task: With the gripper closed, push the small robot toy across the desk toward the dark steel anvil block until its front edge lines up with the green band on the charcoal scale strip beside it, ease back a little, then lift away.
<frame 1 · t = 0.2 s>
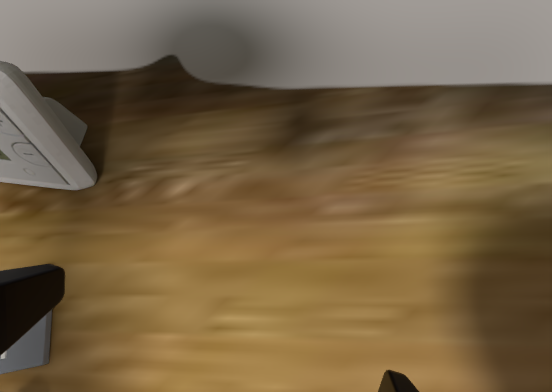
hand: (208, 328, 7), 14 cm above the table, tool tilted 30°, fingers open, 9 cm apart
digital clock: (33, 160, 27), on the table
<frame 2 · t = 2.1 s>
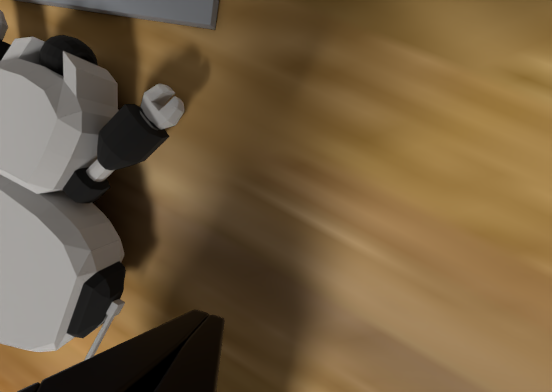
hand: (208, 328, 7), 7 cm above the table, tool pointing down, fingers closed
robot toy: (81, 185, 16), on the table
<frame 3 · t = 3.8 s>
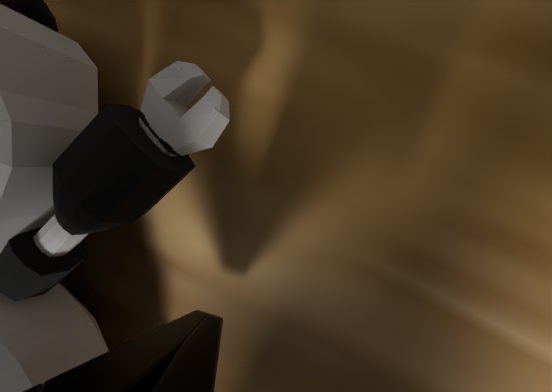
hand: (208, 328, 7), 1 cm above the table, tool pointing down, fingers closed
robot toy: (45, 238, 10), on the table
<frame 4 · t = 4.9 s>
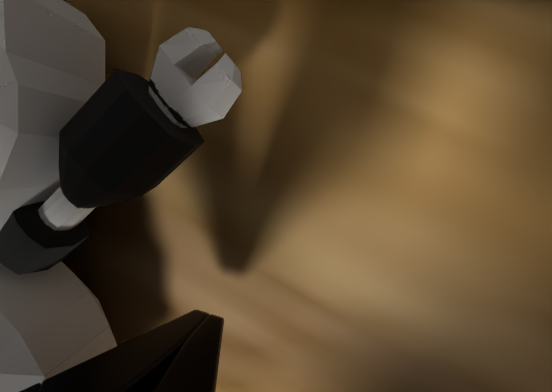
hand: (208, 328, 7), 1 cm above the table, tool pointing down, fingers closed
robot toy: (48, 219, 10), on the table
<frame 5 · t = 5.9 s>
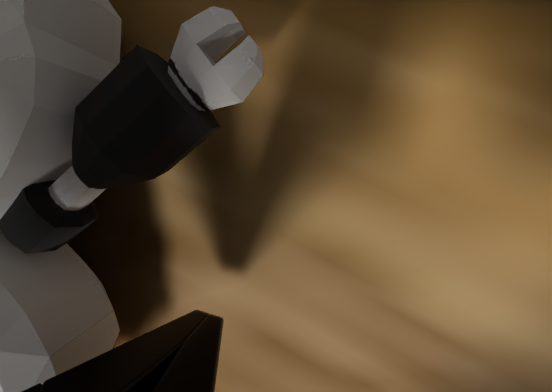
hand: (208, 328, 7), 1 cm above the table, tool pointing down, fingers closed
robot toy: (53, 201, 10), on the table, touching gripper
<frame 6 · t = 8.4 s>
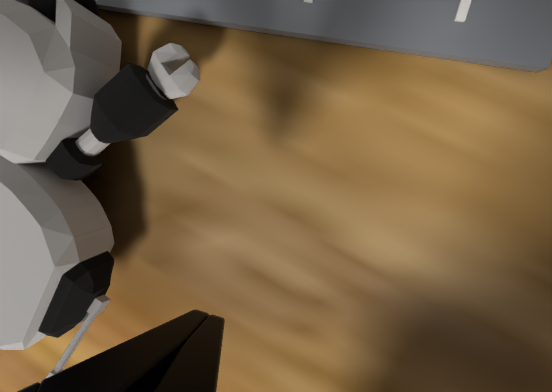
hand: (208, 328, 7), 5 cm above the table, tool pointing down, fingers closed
robot toy: (71, 160, 14), on the table
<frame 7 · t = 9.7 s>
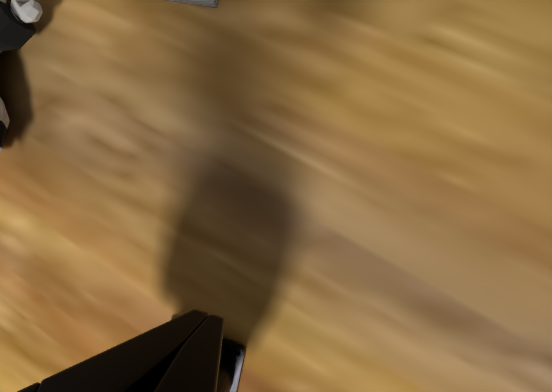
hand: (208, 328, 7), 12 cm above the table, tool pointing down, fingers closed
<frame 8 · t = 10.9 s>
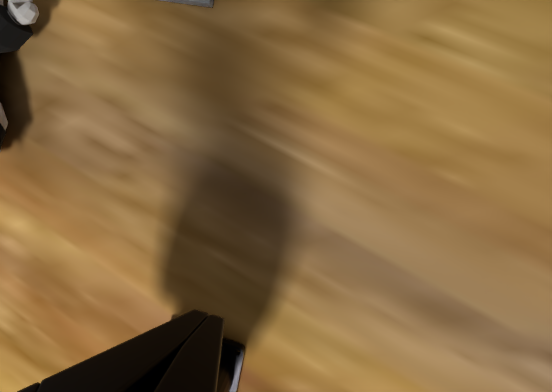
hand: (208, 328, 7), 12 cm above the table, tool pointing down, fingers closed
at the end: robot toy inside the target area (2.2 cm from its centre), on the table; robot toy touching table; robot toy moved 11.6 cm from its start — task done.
